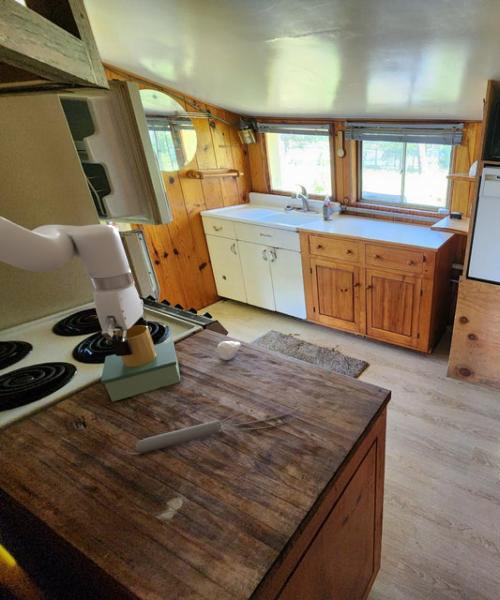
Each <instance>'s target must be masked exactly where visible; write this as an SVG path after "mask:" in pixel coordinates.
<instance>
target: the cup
mask: <svg viewBox="0 0 500 600" xmlns="http://www.w3.org/2000/svg"><path fill="white" fill-rule="evenodd" d="M149 331H150V328H149V326H148V327H147V326H143V325H137V326H131V327H130V328H129V329H128V330H126V340H127V339H128V340H129V343H130V346H131V349H132V352H133V353H132V354H131V355H125V356H121V358H122V361H123V363H124V365H125V366H128V367H136V366H141V365H144V364H147V363H149V362H151V361H152V360H154V359H155V358H156V356H157V353H156V350H155V347H154V345H155V344H154V341H153V337H152V335H151V331H150V332H149ZM115 335H118V336H120V335H121V332H115Z"/></svg>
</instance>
